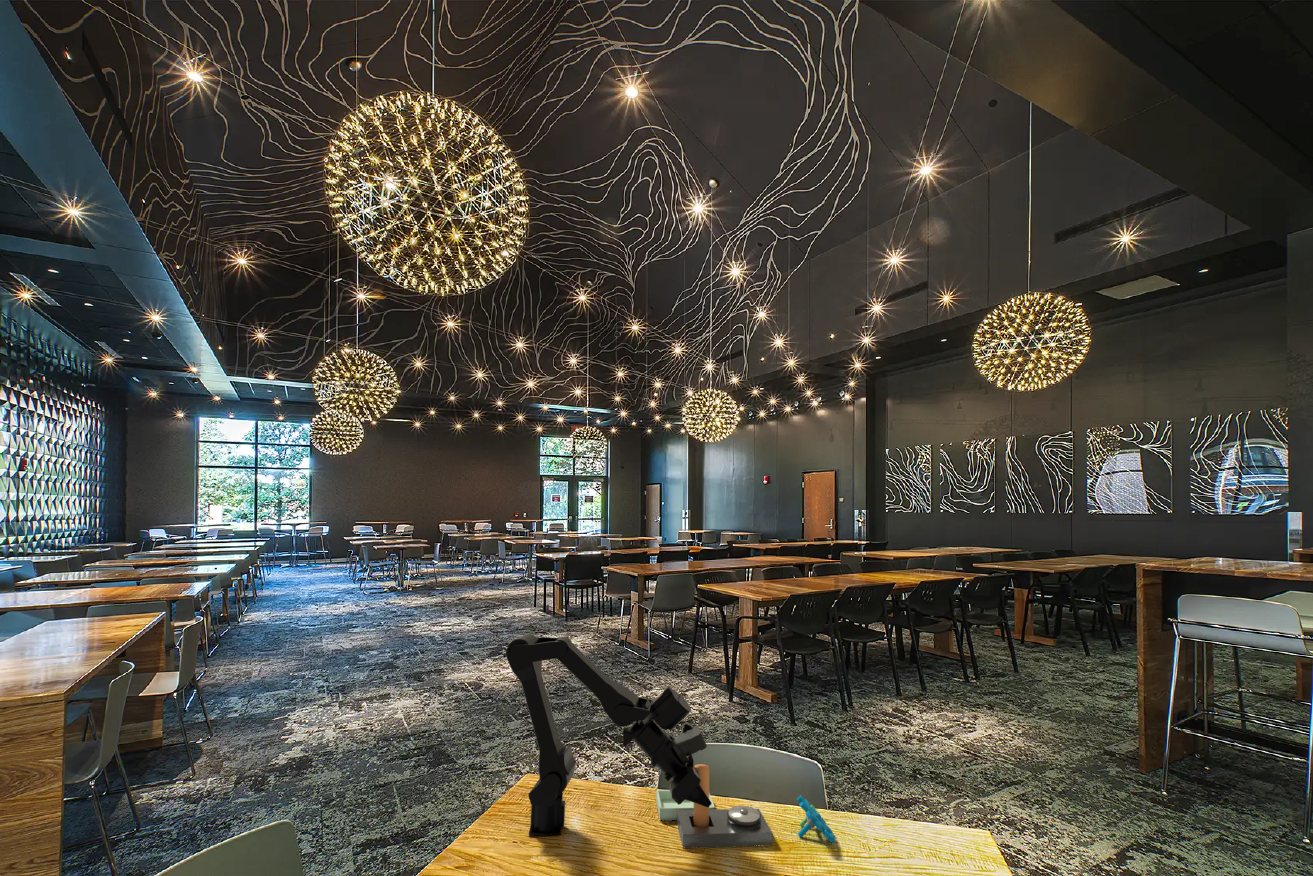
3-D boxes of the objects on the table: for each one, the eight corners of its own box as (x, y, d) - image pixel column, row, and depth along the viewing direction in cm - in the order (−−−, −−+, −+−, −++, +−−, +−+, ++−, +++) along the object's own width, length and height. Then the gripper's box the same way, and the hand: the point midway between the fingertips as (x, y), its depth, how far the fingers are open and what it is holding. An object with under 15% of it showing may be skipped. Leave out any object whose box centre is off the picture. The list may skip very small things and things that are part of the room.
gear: (840, 845, 117) (802, 800, 120) (819, 867, 116) (782, 822, 119) (834, 826, 127) (799, 785, 130) (815, 846, 127) (780, 805, 130)
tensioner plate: (682, 848, 117) (683, 822, 118) (676, 823, 127) (676, 799, 128) (771, 845, 119) (771, 820, 120) (759, 821, 129) (758, 798, 129)
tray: (659, 821, 128) (660, 808, 128) (656, 801, 137) (656, 790, 137) (714, 819, 129) (714, 807, 129) (707, 800, 138) (707, 789, 138)
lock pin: (694, 838, 121) (695, 770, 123) (692, 830, 124) (692, 764, 126) (710, 838, 121) (710, 770, 123) (707, 830, 124) (707, 764, 126)
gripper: (690, 730, 116) (745, 790, 116) (678, 702, 135) (725, 753, 134) (649, 774, 115) (705, 834, 114) (642, 739, 133) (690, 791, 132)
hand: (708, 800), depth 124 cm, fingers open, 4 cm apart
